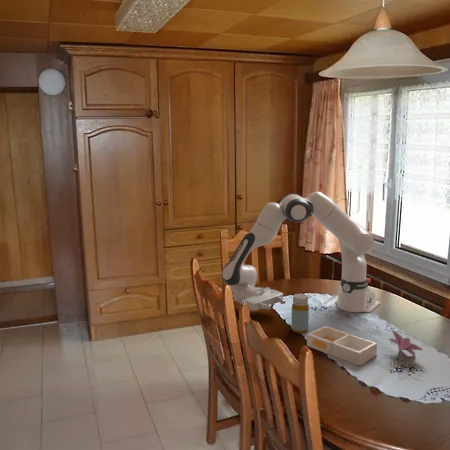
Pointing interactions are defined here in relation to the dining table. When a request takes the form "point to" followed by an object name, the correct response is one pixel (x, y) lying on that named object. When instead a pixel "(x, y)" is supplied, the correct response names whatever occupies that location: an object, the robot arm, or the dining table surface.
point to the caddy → (342, 345)
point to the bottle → (300, 313)
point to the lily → (404, 344)
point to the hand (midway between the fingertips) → (277, 304)
